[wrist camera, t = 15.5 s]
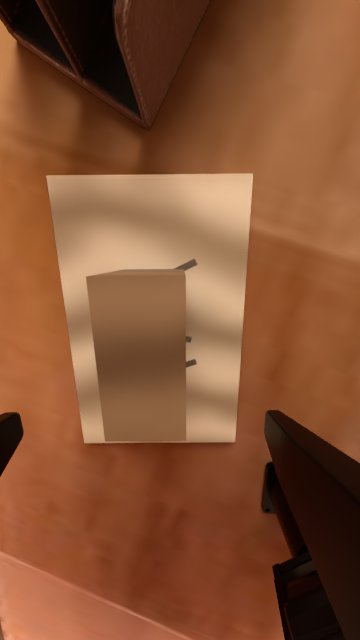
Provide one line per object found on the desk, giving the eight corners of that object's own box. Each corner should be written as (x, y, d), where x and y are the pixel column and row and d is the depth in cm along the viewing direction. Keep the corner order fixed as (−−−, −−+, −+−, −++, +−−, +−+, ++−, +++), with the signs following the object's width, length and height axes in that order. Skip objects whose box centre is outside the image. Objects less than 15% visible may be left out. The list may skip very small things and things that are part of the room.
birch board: (231, 430, 23) (235, 442, 21) (90, 431, 23) (84, 443, 21) (246, 180, 17) (253, 173, 15) (57, 182, 17) (46, 175, 15)
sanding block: (183, 377, 19) (186, 441, 13) (131, 377, 19) (105, 441, 13) (183, 268, 17) (185, 275, 10) (123, 269, 17) (85, 276, 10)
